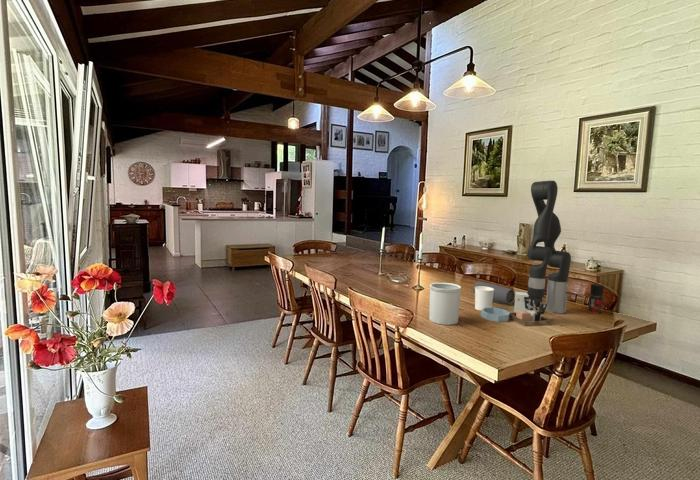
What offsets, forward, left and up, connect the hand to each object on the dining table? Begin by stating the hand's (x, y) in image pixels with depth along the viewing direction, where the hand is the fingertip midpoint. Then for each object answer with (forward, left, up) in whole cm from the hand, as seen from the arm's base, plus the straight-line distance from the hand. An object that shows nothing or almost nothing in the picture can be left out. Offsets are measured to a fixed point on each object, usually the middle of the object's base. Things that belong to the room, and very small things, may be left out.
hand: (533, 319), depth 187 cm
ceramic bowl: (+17, -6, -1) cm, 18 cm away
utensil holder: (+45, -7, -1) cm, 46 cm away
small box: (-4, -14, -1) cm, 15 cm away
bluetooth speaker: (-1, -37, -1) cm, 37 cm away
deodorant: (-47, -11, -1) cm, 48 cm away
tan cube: (+6, 0, 0) cm, 6 cm away
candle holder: (+15, -21, -1) cm, 26 cm away
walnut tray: (+3, 0, -1) cm, 3 cm away
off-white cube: (0, 0, 0) cm, 0 cm away
